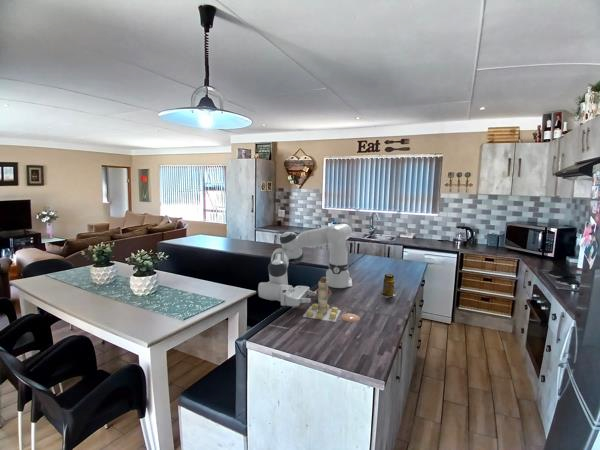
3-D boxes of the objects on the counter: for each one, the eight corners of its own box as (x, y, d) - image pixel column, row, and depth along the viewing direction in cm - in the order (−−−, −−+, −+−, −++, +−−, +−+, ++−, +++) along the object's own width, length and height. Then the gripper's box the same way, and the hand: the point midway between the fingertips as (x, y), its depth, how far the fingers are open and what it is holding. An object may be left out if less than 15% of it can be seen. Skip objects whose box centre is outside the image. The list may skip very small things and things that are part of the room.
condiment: (396, 295, 185) (397, 275, 183) (386, 298, 180) (387, 278, 179) (386, 291, 191) (388, 272, 189) (377, 294, 186) (378, 274, 185)
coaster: (342, 313, 157) (342, 312, 157) (360, 316, 155) (361, 315, 154) (339, 321, 149) (339, 319, 149) (358, 324, 146) (358, 322, 146)
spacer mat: (310, 306, 165) (310, 302, 165) (340, 311, 160) (341, 306, 160) (302, 317, 152) (302, 312, 151) (335, 323, 147) (335, 317, 146)
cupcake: (318, 303, 170) (319, 282, 168) (313, 297, 178) (314, 277, 176) (333, 302, 172) (334, 281, 171) (328, 296, 180) (328, 276, 179)
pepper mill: (318, 310, 159) (320, 275, 156) (327, 312, 157) (329, 276, 155) (316, 314, 154) (317, 277, 152) (325, 315, 153) (326, 278, 151)
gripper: (293, 292, 170) (318, 296, 166) (279, 306, 151) (307, 311, 147) (294, 281, 169) (318, 284, 165) (280, 294, 150) (307, 298, 146)
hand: (313, 297), depth 156 cm, fingers open, 8 cm apart
